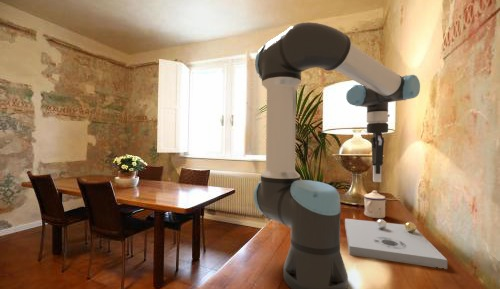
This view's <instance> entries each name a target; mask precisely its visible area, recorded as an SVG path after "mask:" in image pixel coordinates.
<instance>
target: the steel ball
mask: <svg viewBox="0 0 500 289" xmlns="http://www.w3.org/2000/svg"><path fill="white" fill-rule="evenodd" d="M375 222H376V225H377V227H378V228H380V229H385V228H386V227H387V223H388V222H387V221H385V220H384V218H378V219H377V220H376V221H375Z"/></svg>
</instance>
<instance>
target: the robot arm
mask: <svg viewBox="0 0 500 289" xmlns="http://www.w3.org/2000/svg"><path fill="white" fill-rule="evenodd" d="M254 65H255V71H256V74H258V77H259V78H260V80H261V86H263V87H264V88H265V90H266V123H265V124H266V130H265V131H266V136H265V138H266V139H265V141H266V143H265V147H266V148H265V152H266V153H265V158H266V159H265V169H264V171H263V172H262V173H261V175H260V181H258V183H257V185H256V186H255V188H254V191H253V202H254V205H255V207H256V209H257V210H258V211H259V213H260V214H262V215H263V216H265V217H266V218H268V219H270V220H272V221H275V222H277V223H280V224H282V225H284V226H286V227H288V228H290V247H289V249H288V252H287V255H286V257H285V258H286V259H285V261H284V264H283V274H282V275H283V280H284V283H285V284H286V285H287V286H288V287H289V288H291V289H348V286H349V276H348V272H347V268H346V266H345V262H344V259H343V257H342V253H341V212H342V206H341V198H340V197H341V195H340V193H339V191H338V190H337V188H336V187H334V186H333V185H330V184H328V183H324V182H322V181H318V180H316V181H314V180H310V179H301V174H299V173H298V172H297V171H296V118H297V117H296V116H297V115H296V108H297V106H296V100H297V97H296V96H297V91H296V90H297V89H298V87H299V86H300V85H301V84H302V72H304V71H306V70H309V69H312V68H313V69H314V68H318V69H319V68H320V69H323V70H324V71H327V72H332V71H335V72H337V73H339V74H341V75H343V76H344V77H347V78H349V79H350V80H352V81H354V82H356V83H358V84H353V85H352V86H350V87H349V88H348V90H347V91H346V96H345V97H346V102H347V103H348V104H349V105H350V106H351V105H352V106H355V107H364V108H366V123H367V124H366V133H368V134H372V137H371V138H370V143H371V163H372V164H371V166H372V181H373V182H374V183H382V165H383V164H384V162H383V161H384V160H383V159H384V146H385V138H384V137H383V134H387V133H389V123H388V122H389V118H390V115H391V114H389V103H393V102H394V103H395V102H400V101H406V100H411V99H415V98H417V97H418V96H419V94H420V91H421V90H420V89H421V82H420V79H419V78H418V76H417V75H415V74H409V75H407V74H406V75H404V76H401V75H400V74H398V73H396V71H393V70H392V69H390V68H389V67H387V66H386V65H384V64H382V63H381V62H380V61H378V60H376V59H375V58H374V57H372V56H371V55H370V54H367V53H366V52H364V51H363V50H362V49H360V48H358V47H356V46H355V45H354V44H352V40H351V38H350V36H349V35H347V34H345V33H344V32H342V31H340V30H339V29H337V28H335V27H333V26H329V25H326V24H323V23H319V22H308V21H307V22H301V23H300V22H299V23H296V24H294V25H291V26H290V27H289V28H287V29H286V30H285V31H284V32H281V33H280V34H279V35H277V36H276V37H274V38H272V39H271V40H268V41H267V42H266V43H264V45H262V47H261V48H260V49H259V50H258V51H257V54H256V55H255V60H254Z"/></svg>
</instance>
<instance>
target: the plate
mask: <svg viewBox="0 0 500 289" xmlns="http://www.w3.org/2000/svg"><path fill="white" fill-rule="evenodd" d="M376 222H377V221H373V220H365V219H363V220H362V219H353V218H344V226H345V235H346V241H347V247H348V248H347V249H348V253H349V255H351V256H358V257H364V258H365V257H366V258H371V259H375V260H377V259H378V260H383V261H384V260H385V261H391V262H397V263H403V264H411V265H417V266H423V267H431V268H436V267H438V268H437V269H442V268H444V269H443V270H448V259H447V258H446V257H445V256H444V255H443V254H442V253H441V252H440V251H439V249H437V248H436V247H435V246H434V245H433V244H432V243H431V242H430V241H429V240H428V239H427V238H426V237H425V236H424V235H423V234H422V233H421V232H420V231H419V230H418V229H417V228H416V231H414V232H408V231H407V230H406V229H405V224H400V223H392V222H386V223H387V227H386V228H385V229H380V228H378V227H377V225H376Z"/></svg>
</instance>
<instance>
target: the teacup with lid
mask: <svg viewBox="0 0 500 289" xmlns="http://www.w3.org/2000/svg"><path fill="white" fill-rule="evenodd" d="M363 198H364V202H363V203H364V205H363V206H364V208H363V209H364V210H363V211H364V212H363V214H364V216H366V217H369V218H374V219H384V218H385V217H386V200H387V198H386V196H385V195H382V194H380V193H378V191H377V190H372V191H371V192H369V193H366V194H364V195H363Z"/></svg>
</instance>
